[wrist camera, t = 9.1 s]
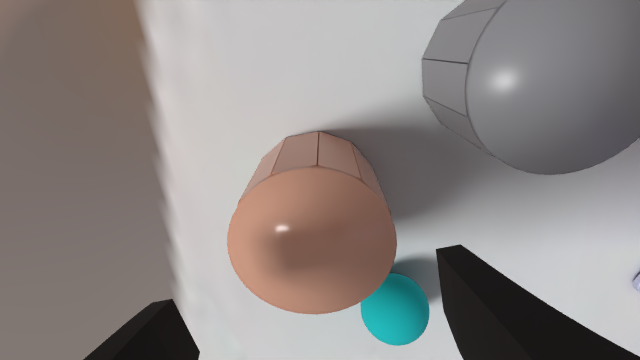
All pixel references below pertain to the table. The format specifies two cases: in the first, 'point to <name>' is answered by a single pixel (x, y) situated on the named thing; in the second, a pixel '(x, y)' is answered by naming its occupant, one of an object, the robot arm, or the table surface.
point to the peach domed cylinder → (312, 227)
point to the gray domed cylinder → (538, 80)
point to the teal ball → (396, 311)
